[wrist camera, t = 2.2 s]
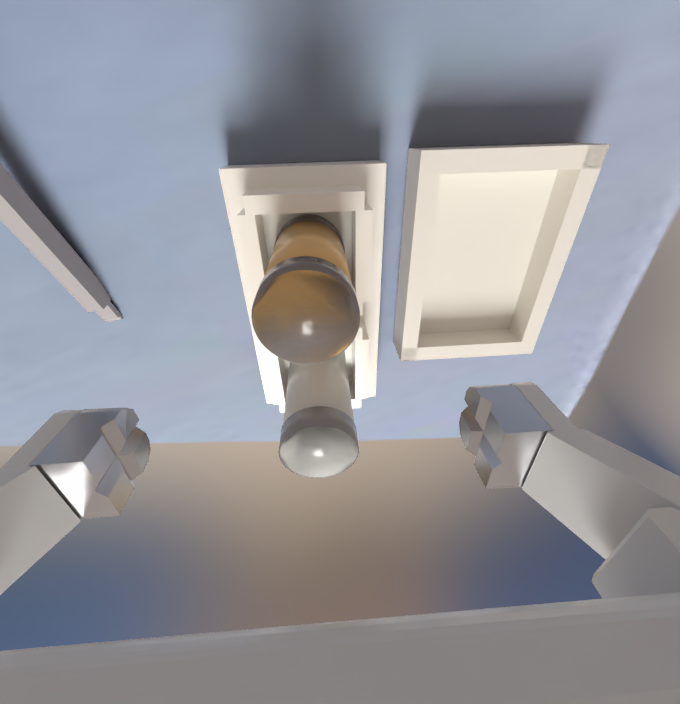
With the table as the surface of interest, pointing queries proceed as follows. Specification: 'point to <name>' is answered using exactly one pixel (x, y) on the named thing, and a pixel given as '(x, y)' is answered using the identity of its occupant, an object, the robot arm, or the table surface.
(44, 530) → the robot arm
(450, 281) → the parts tray
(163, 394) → the table surface
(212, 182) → the table surface
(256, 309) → the fuse
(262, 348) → the block
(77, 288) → the caliper
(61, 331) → the table surface
